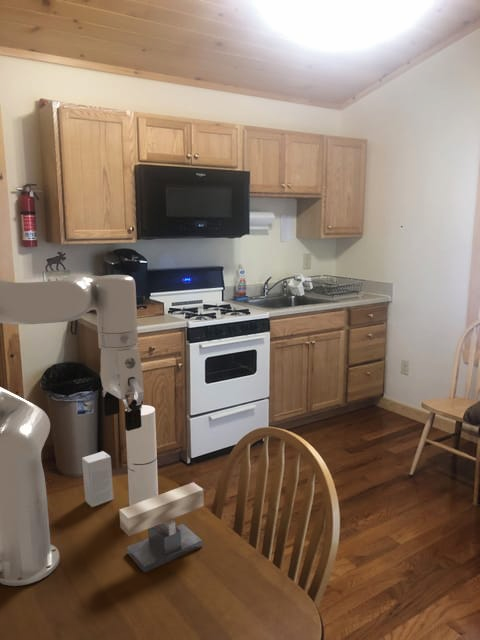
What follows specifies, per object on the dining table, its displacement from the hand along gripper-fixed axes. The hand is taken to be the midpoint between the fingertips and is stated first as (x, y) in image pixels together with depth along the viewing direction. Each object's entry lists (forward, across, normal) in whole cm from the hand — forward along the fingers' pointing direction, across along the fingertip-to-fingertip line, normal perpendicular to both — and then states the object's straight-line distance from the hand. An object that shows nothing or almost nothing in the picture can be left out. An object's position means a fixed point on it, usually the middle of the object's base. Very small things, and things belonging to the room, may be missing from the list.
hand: (122, 421), depth 105 cm
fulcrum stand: (+30, -3, -7) cm, 31 cm away
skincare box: (+31, +25, -4) cm, 40 cm away
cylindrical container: (+31, +16, -12) cm, 36 cm away
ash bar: (+22, -3, -7) cm, 24 cm away
